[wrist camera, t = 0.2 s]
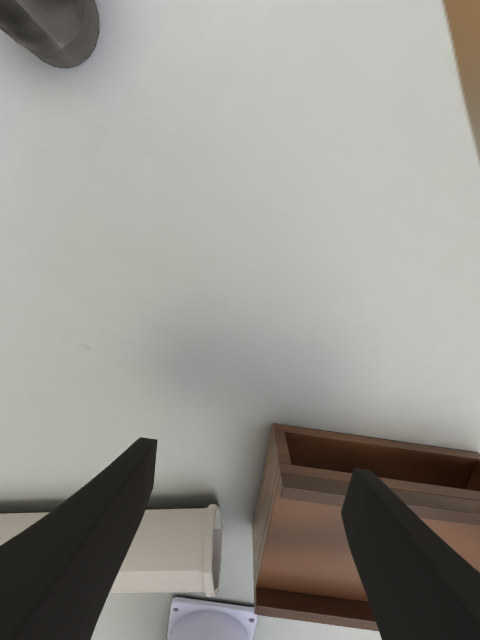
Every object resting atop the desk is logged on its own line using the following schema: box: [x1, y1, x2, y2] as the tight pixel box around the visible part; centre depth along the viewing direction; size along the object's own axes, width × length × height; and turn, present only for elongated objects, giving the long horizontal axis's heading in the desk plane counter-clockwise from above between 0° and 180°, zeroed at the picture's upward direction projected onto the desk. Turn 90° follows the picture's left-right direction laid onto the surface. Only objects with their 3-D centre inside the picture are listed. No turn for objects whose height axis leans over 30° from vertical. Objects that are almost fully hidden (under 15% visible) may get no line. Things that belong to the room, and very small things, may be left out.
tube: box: [0, 504, 222, 597], centre depth 21 cm, size 5×5×25 cm
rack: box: [252, 424, 480, 631], centre depth 19 cm, size 10×16×6 cm, turn 82°
